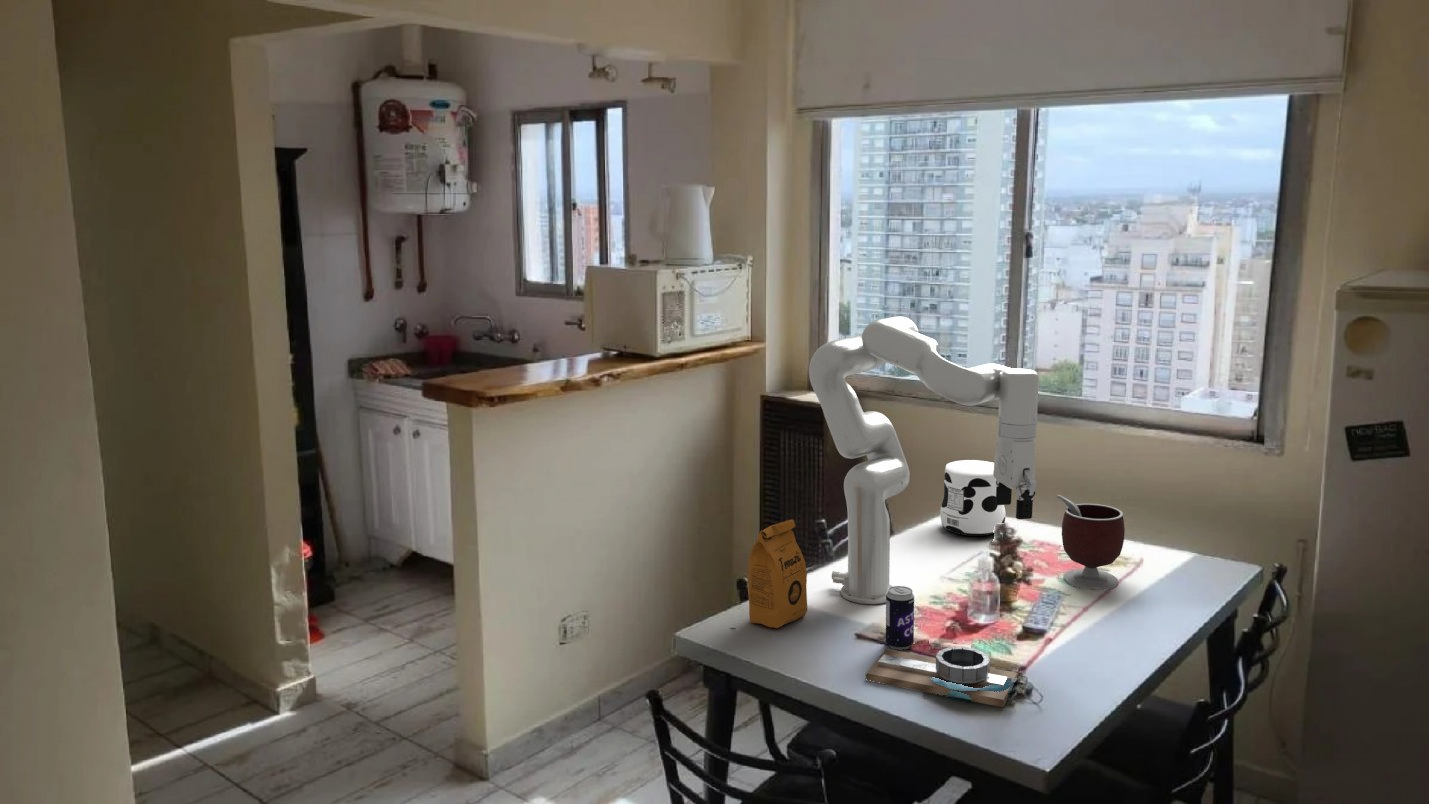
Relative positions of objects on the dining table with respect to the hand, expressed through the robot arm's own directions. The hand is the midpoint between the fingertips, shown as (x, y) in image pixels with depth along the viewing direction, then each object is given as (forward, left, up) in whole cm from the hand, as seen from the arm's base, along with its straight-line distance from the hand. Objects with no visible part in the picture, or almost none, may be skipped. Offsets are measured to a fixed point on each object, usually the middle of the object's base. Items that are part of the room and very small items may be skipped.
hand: (1013, 511), depth 217 cm
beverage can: (-19, -15, -27) cm, 36 cm away
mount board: (-7, -27, -27) cm, 39 cm away
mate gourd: (+10, +39, -27) cm, 48 cm away
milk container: (-24, +65, -27) cm, 75 cm away
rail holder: (-7, -27, -25) cm, 38 cm away
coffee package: (-47, -13, -27) cm, 56 cm away
